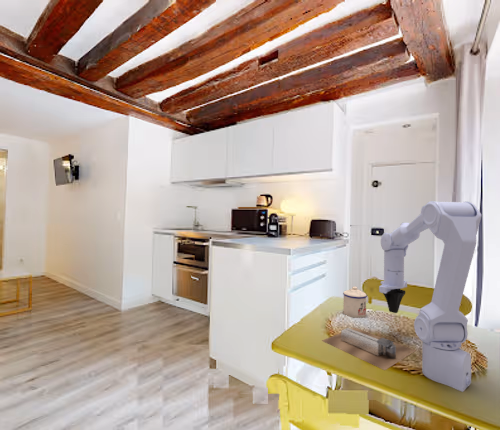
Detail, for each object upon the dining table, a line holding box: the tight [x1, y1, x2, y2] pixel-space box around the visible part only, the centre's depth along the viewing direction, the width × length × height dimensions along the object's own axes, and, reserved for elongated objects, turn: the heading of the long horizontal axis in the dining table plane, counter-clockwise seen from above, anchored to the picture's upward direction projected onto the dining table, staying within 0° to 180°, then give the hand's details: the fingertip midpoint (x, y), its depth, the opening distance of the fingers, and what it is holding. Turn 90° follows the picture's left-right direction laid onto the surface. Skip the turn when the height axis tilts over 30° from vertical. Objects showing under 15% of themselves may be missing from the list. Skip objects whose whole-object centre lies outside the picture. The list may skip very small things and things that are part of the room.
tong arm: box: [344, 327, 396, 359], centre depth 80 cm, size 15×3×3 cm, turn 36°
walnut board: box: [321, 327, 417, 371], centre depth 82 cm, size 20×18×1 cm
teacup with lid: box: [342, 285, 368, 319], centre depth 111 cm, size 12×9×12 cm
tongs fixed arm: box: [340, 328, 394, 356], centre depth 80 cm, size 14×3×4 cm, turn 36°
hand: (393, 312), depth 87 cm, fingers closed
